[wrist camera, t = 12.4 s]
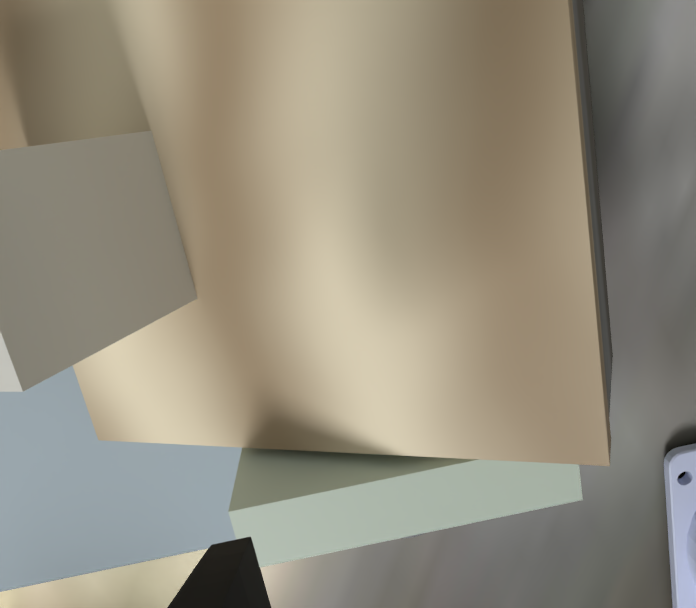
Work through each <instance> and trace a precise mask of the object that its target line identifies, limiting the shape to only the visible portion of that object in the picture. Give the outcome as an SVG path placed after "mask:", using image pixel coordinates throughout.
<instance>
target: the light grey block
mask: <svg viewBox="0 0 696 608" xmlns="http://www.w3.org/2000/svg"><path fill="white" fill-rule="evenodd" d="M196 299H197V295H196V291H195V288H194V284H193V280H192V277H191V273H190V269H189V266H188V262H187V258H186V255H185V251H184V248H183V244H182V240H181V237H180V233H179V229H178V226H177V222H176V218H175V215H174V211H173V207H172V204H171V200H170V196H169V193H168V189H167V186H166V182H165V178H164V175H163V171H162V167H161V164H160V160H159V156H158V153H157V149H156V145H155V142H154V138H153V135H152V131H144V132H136V133H129V134H121V135H113V136H106V137H98V138H90V139H82V140H75V141H67V142H59V143H52V144H44V145H36V146H29V147H21V148H13V149H6V150H0V392H24V391H25V390H27V389H29V388H31V387H33V386H35V385H37V384H39V383H40V382H42V381H44V380H46V379H48V378H50V377H52V376H54V375H55V374H57V373H59V372H61V371H63V370H65V369H67V368H69V367H70V366H72V365H74V364H76V363H78V362H80V361H82V360H83V359H85V358H87V357H89V356H91V355H93V354H95V353H97V352H98V351H100V350H102V349H104V348H106V347H108V346H110V345H112V344H113V343H115V342H117V341H119V340H121V339H123V338H125V337H127V336H128V335H130V334H132V333H134V332H136V331H138V330H140V329H142V328H143V327H145V326H147V325H149V324H151V323H153V322H155V321H156V320H158V319H160V318H162V317H164V316H166V315H168V314H170V313H171V312H173V311H175V310H177V309H179V308H181V307H183V306H185V305H186V304H188V303H190V302H192V301H194V300H196Z"/></svg>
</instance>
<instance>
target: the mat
mask: <svg viewBox="0 0 696 608" xmlns="http://www.w3.org/2000/svg"><path fill="white" fill-rule="evenodd" d="M241 451H242V448H241V447H221V446H201V445H181V444H161V443H141V442H121V441H102V440H98V438H97V435H96V432H95V429H94V426H93V423H92V420H91V417H90V414H89V412H88V409H87V406H86V403H85V400H84V397H83V394H82V391H81V389H80V386H79V383H78V380H77V377H76V374H75V371H74V368H73V365H72V366H70V367H69V368H67V369H65V370H63V371H61V372H59V373H57V374H55V375H54V376H52V377H50V378H48V379H46V380H44V381H42V382H40V383H39V384H37V385H35V386H33V387H31V388H29V389H27V390H25V391H24V392H0V592H1V591H6V590H11V589H16V588H21V587H25V586H30V585H35V584H40V583H44V582H49V581H54V580H59V579H63V578H68V577H73V576H78V575H83V574H87V573H92V572H97V571H102V570H106V569H111V568H116V567H121V566H126V565H130V564H135V563H140V562H145V561H149V560H154V559H159V558H164V557H169V556H173V555H178V554H183V553H188V552H192V551H197V550H202V549H207V548H209V547H210V546H211V545H212V544H217V543H222V542H227V541H231V540H236V537H235V533H234V530H233V527H232V523H231V520H230V516H229V513H228V511H229V506H230V501H231V497H232V492H233V487H234V483H235V478H236V474H237V469H238V464H239V460H240V455H241Z"/></svg>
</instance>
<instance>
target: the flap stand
mask: <svg viewBox="0 0 696 608" xmlns="http://www.w3.org/2000/svg"><path fill="white" fill-rule="evenodd" d="M580 500H583V499H582V490H581V480H580V471H579V464H559V463H539V462H519V461H500V460H480V459H460V458H440V457H420V456H400V455H380V454H360V453H340V452H320V451H301V450H281V449H261V448H242V451H241V455H240V460H239V464H238V469H237V474H236V478H235V483H234V487H233V492H232V497H231V501H230V506H229V511H228V513H229V516H230V520H231V523H232V527H233V530H234V533H235V537H236V539H241V538H246V537H251V539H252V542H253V546H254V549H255V553H256V556H257V560H258V563H259V567H265V566H269V565H274V564H279V563H284V562H288V561H293V560H298V559H303V558H308V557H312V556H317V555H322V554H327V553H331V552H336V551H341V550H346V549H351V548H355V547H360V546H365V545H370V544H374V543H379V542H384V541H389V540H393V539H398V538H410V537H415V536H419V535H422V534H424V533H427V532H432V531H436V530H441V529H446V528H451V527H456V526H460V525H465V524H470V523H475V522H479V521H484V520H489V519H494V518H498V517H503V516H508V515H513V514H518V513H522V512H527V511H532V510H537V509H541V508H546V507H551V506H556V505H560V504H565V503H570V502H575V501H580Z"/></svg>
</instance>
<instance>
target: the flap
mask: <svg viewBox="0 0 696 608" xmlns="http://www.w3.org/2000/svg"><path fill="white" fill-rule="evenodd" d="M144 131H152V135H153V138H154V142H155V145H156V149H157V153H158V156H159V160H160V164H161V167H162V171H163V175H164V178H165V182H166V186H167V189H168V193H169V196H170V200H171V204H172V207H173V211H174V215H175V218H176V222H177V226H178V229H179V233H180V237H181V240H182V244H183V248H184V251H185V255H186V258H187V262H188V266H189V269H190V273H191V277H192V280H193V284H194V288H195V291H196V295H197V299H196V300H194V301H192V302H190V303H188V304H186V305H185V306H183V307H181V308H179V309H177V310H175V311H173V312H171V313H170V314H168V315H166V316H164V317H162V318H160V319H158V320H156V321H155V322H153V323H151V324H149V325H147V326H145V327H143V328H142V329H140V330H138V331H136V332H134V333H132V334H130V335H128V336H127V337H125V338H123V339H121V340H119V341H117V342H115V343H113V344H112V345H110V346H108V347H106V348H104V349H102V350H100V351H98V352H97V353H95V354H93V355H91V356H89V357H87V358H85V359H83V360H82V361H80V362H78V363H76V364H74V365H73V368H74V371H75V374H76V377H77V380H78V383H79V386H80V389H81V391H82V394H83V397H84V400H85V403H86V406H87V409H88V412H89V414H90V417H91V420H92V423H93V426H94V429H95V432H96V435H97V438H98V440H102V441H121V442H141V443H161V444H181V445H201V446H221V447H241V448H261V449H281V450H301V451H320V452H340V453H360V454H380V455H400V456H420V457H440V458H460V459H480V460H500V461H519V462H539V463H559V464H579V465H599V466H610V450H611V434H610V423H609V412H610V393H611V375H612V357H613V355H612V343H611V331H610V319H609V307H608V295H607V283H606V271H605V259H604V247H603V235H602V223H601V211H600V199H599V187H598V175H597V164H596V152H595V140H594V128H593V116H592V104H591V92H590V80H589V68H588V56H587V44H586V32H585V20H584V8H583V0H0V150H6V149H13V148H21V147H29V146H36V145H44V144H52V143H59V142H67V141H75V140H82V139H90V138H98V137H106V136H113V135H121V134H129V133H136V132H144Z"/></svg>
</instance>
